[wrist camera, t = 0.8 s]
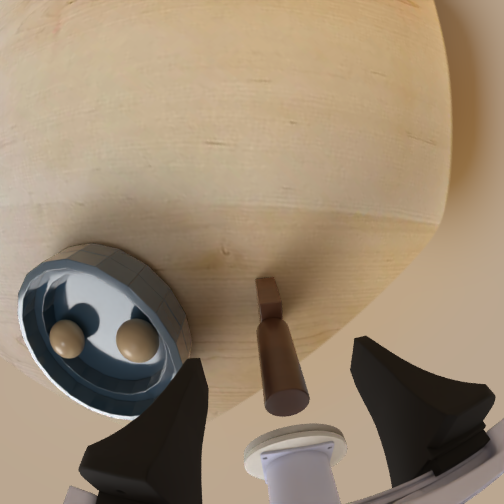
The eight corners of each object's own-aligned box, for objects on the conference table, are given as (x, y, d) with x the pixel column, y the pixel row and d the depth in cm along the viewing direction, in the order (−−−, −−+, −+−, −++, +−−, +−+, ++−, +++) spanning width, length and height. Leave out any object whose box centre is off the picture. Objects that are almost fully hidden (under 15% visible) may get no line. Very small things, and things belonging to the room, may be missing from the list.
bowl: (207, 388, 20) (203, 424, 16) (79, 381, 20) (63, 408, 16) (171, 229, 16) (152, 247, 12) (27, 252, 16) (-4, 269, 12)
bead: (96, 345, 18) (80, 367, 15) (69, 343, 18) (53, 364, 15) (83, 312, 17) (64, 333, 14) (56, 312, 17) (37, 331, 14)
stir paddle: (281, 323, 19) (308, 424, 10) (255, 326, 19) (267, 430, 10) (278, 276, 18) (311, 368, 9) (250, 279, 17) (261, 375, 9)
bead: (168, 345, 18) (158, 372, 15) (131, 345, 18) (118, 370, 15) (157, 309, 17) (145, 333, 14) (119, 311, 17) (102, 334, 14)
